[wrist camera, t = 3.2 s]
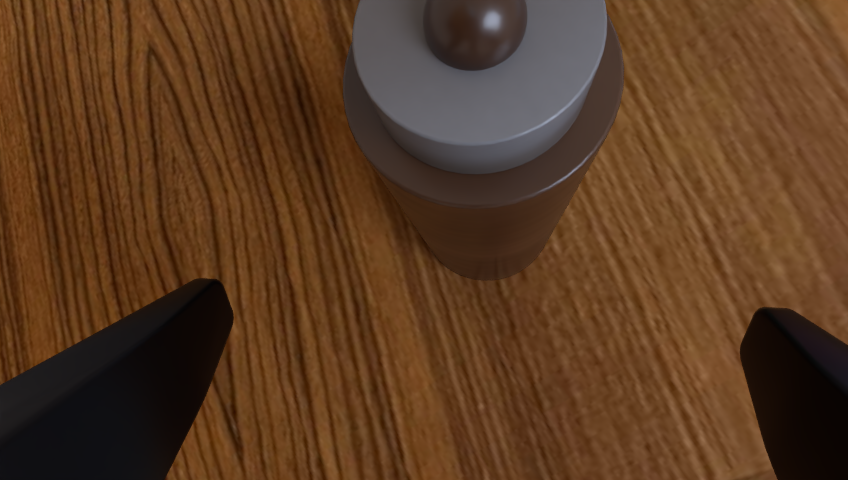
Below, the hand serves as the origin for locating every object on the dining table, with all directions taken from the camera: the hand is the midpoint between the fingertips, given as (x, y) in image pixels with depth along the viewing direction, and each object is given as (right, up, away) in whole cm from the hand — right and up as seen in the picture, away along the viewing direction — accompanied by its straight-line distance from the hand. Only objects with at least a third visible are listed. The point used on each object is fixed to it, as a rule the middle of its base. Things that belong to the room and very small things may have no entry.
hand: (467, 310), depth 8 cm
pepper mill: (+2, +2, +11) cm, 12 cm away
